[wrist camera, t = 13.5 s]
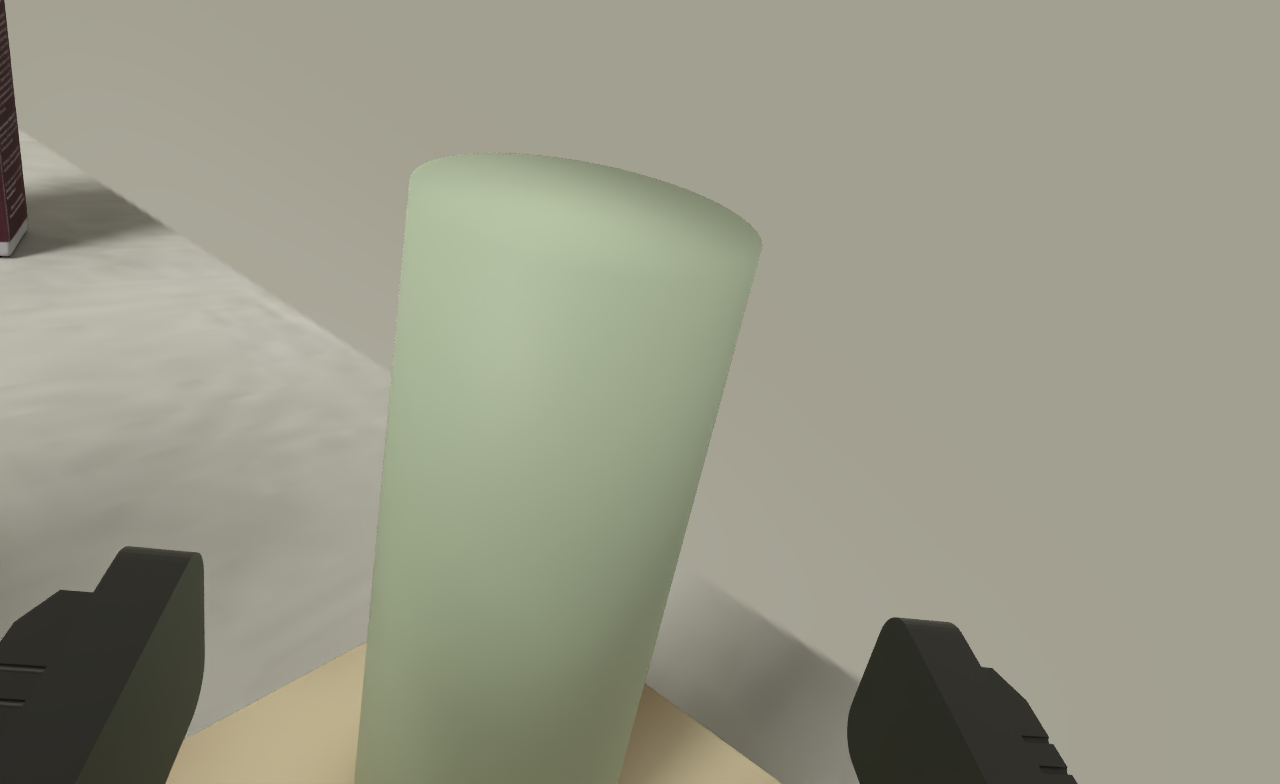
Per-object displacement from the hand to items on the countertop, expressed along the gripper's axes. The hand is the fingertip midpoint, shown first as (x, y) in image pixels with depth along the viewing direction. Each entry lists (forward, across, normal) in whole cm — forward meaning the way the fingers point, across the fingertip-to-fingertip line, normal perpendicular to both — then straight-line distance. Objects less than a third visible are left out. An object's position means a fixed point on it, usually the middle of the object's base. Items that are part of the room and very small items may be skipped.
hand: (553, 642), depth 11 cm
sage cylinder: (+5, 0, +8) cm, 10 cm away
